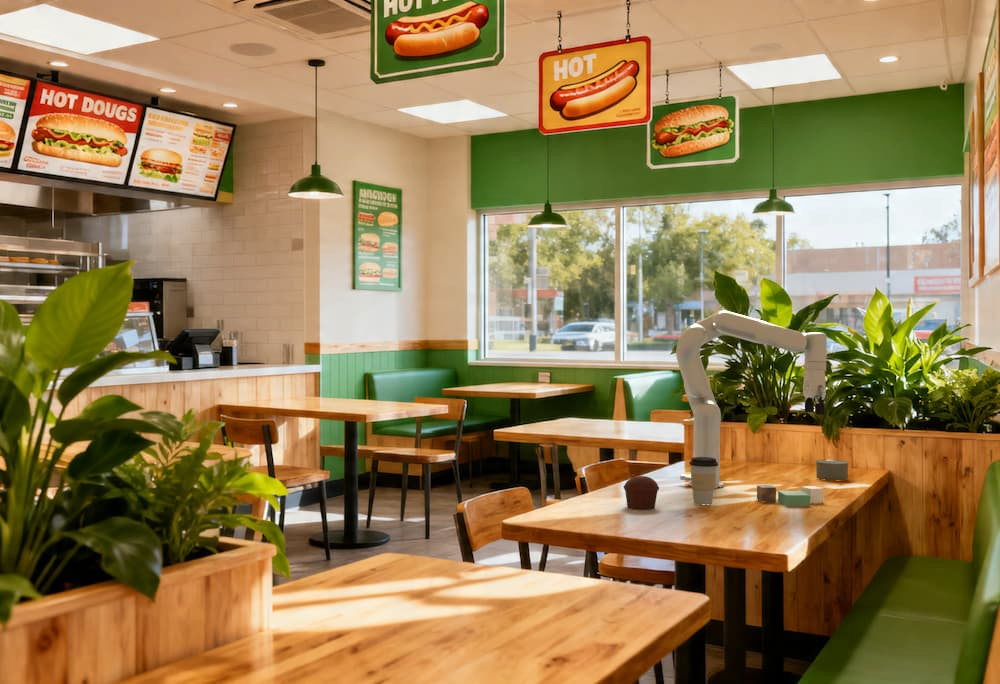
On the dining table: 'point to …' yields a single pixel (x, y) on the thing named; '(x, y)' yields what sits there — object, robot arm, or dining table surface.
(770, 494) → the walnut cube
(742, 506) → the dining table surface
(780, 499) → the green base
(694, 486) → the coffee cup
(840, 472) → the can
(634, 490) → the muffin
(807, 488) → the cream cube
